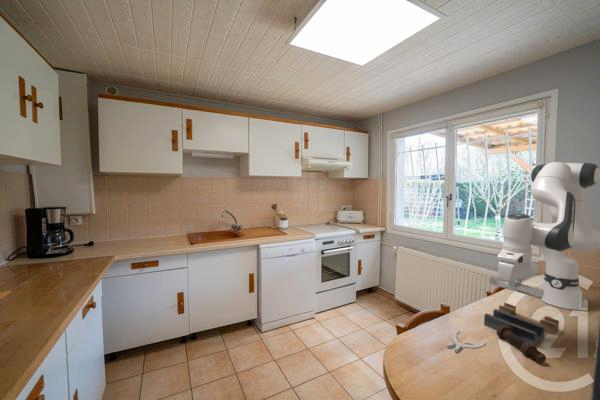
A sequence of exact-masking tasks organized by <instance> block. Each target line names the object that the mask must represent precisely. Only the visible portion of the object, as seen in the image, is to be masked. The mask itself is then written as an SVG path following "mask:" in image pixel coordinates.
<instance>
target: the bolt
mask: <svg viewBox="0 0 600 400" xmlns="http://www.w3.org/2000/svg"><path fill="white" fill-rule="evenodd" d="M495 331H496V332H495V333H496V335H497V337H498V338H499V339H500V340H506V341H508V342H509V343H511V344H513V345H514V346H515V347H517V348H518V349H519V350H520V352H521V353H522V355H524V356H525V357H527V358H531V359H533V360H534V361H536V362H537V363H538V364H539V363H541V364H542V363H544V362H545V361H546V360H547V357H546V355H545V354H544V353H542V352H541V351H540V350H538V347H537V346H536V345H534V344H532V343H530V342H525V341H523V340H522V339H521V338H519V337H518V336H516V335H515V334H513V332H512V330H511V328H510V327H509V326H507V325H501V326H499V327H498V328H497V330H495Z"/></svg>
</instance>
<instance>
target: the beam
mask: <svg viewBox="0 0 600 400" xmlns="http://www.w3.org/2000/svg"><path fill="white" fill-rule="evenodd" d="M516 308H517V307H516V306H515V305H513V304H511V303H507V302H504V304H503V305H501V304H500V305H498V310H500V311H503V312H506V313H508V314H511V315H514V316H517V317H519V318H522V319H525V320H528V321H531V322H533V323H536V324H539V325H542V326H544V327H545V330H544V333H547V334H551V335H555V334H556V333H557V332H559V329H560V328H559V327H560V320H558V319H556V318H555V319H554V318H553V317H552V318H551V317H550V316H549V317H548V316H546V315H545V316H544V318H543V319H540V320H537V319H534V318H531V317H529V316H525V315H523V314H519V313H517V312H516V310H517V309H516Z"/></svg>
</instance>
